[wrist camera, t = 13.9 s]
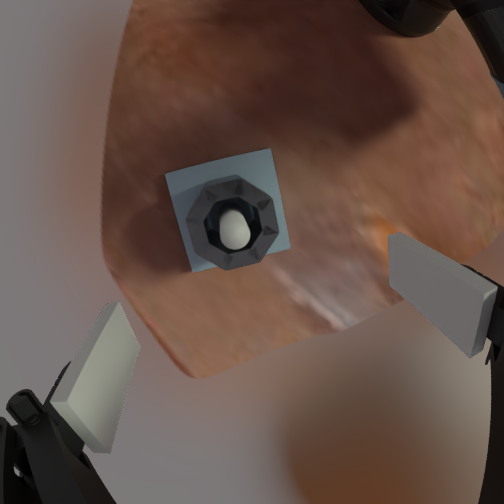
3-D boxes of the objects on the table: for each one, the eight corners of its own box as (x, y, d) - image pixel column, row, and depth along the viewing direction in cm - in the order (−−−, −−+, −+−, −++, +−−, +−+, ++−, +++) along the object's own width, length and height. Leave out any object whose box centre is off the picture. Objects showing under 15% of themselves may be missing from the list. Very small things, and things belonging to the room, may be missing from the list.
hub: (185, 187, 31) (178, 194, 25) (257, 169, 31) (267, 172, 25) (204, 255, 33) (201, 276, 28) (272, 238, 34) (284, 256, 28)
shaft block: (166, 173, 32) (143, 182, 22) (268, 148, 33) (293, 145, 22) (193, 267, 36) (185, 315, 26) (287, 244, 37) (316, 282, 26)
